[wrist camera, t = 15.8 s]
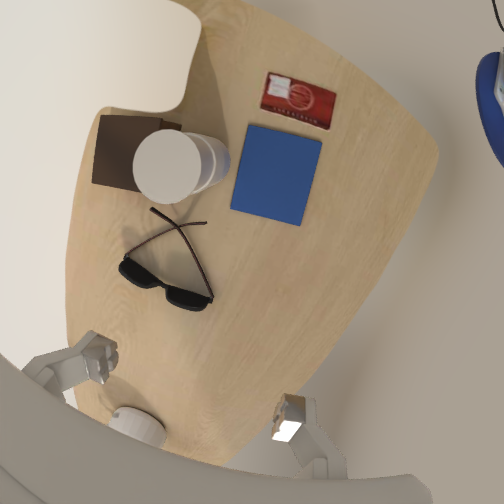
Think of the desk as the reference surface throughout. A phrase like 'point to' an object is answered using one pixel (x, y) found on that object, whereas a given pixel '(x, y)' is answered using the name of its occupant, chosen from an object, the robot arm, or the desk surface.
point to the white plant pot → (138, 426)
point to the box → (122, 148)
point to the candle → (178, 165)
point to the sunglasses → (148, 280)
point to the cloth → (275, 175)
